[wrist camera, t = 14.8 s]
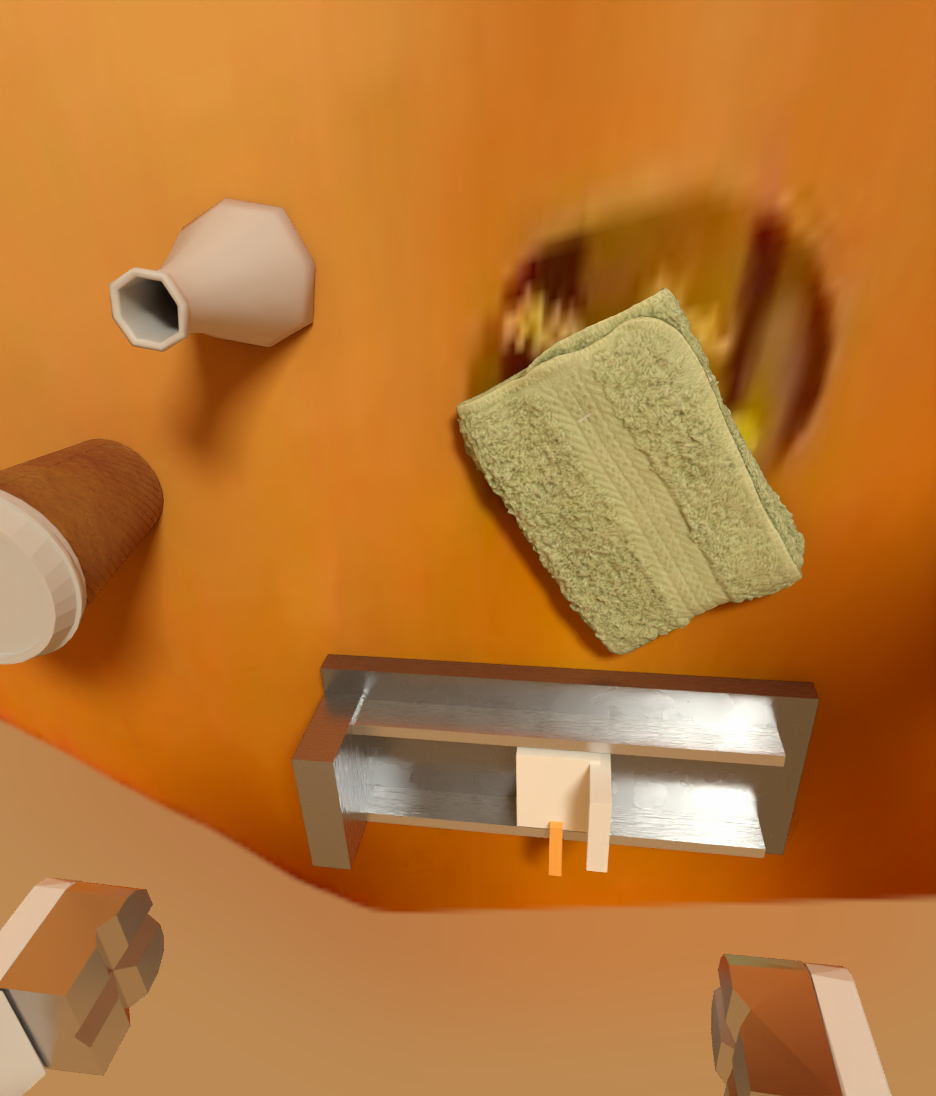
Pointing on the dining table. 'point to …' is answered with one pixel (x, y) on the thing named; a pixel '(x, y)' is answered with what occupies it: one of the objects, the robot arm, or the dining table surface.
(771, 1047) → the robot arm
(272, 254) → the flask
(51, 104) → the dining table surface
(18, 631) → the disposable coffee cup
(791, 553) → the washcloth
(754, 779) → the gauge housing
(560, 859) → the cream corner bracket
